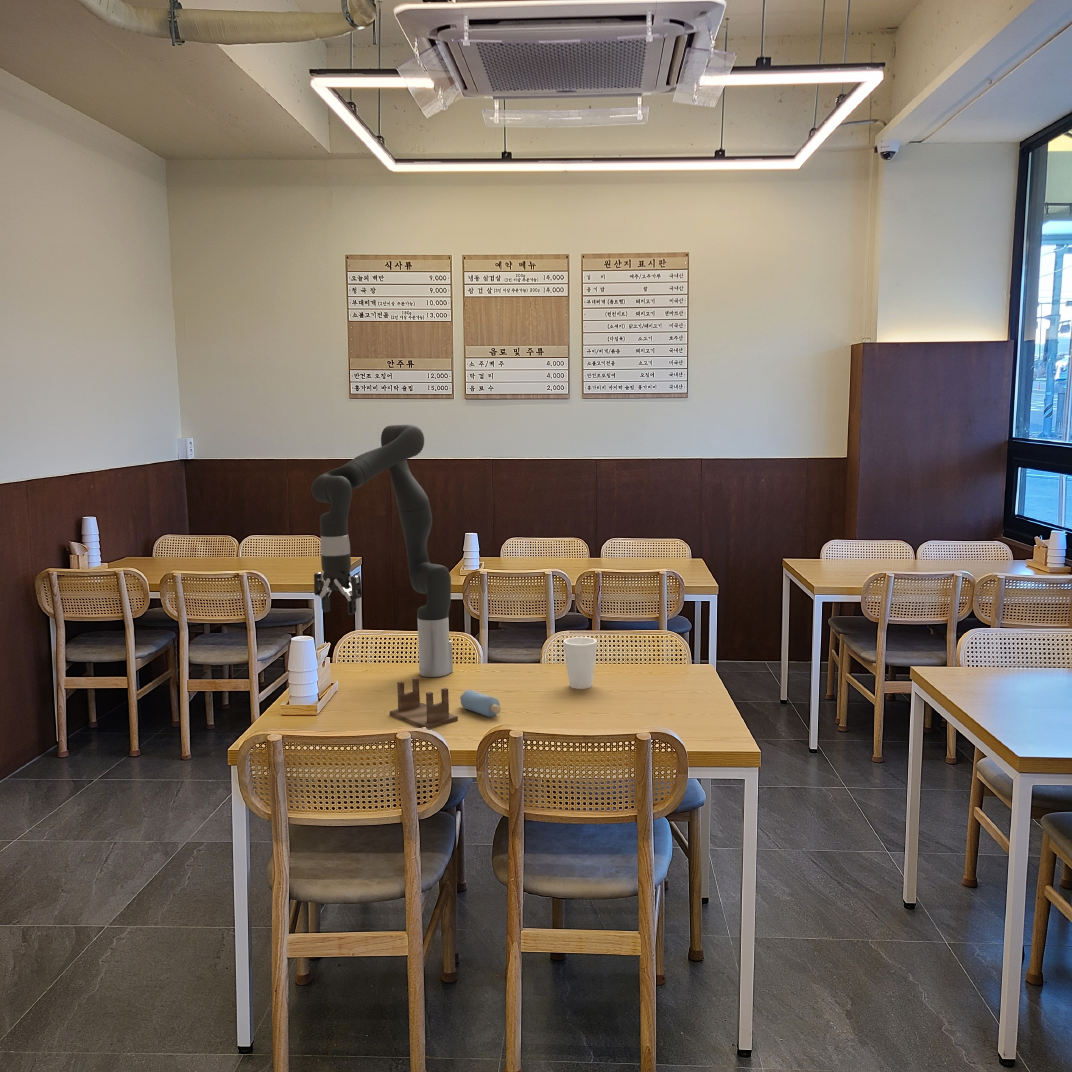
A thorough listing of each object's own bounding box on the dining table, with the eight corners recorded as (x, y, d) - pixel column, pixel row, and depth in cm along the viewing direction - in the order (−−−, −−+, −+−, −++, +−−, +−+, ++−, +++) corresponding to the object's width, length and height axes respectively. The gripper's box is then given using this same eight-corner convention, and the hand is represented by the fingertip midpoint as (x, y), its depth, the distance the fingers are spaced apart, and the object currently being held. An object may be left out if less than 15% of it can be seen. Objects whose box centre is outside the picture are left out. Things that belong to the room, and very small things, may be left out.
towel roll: (455, 708, 247) (455, 690, 246) (470, 704, 250) (470, 686, 250) (490, 721, 236) (490, 701, 236) (505, 717, 240) (505, 698, 239)
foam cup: (602, 683, 267) (601, 638, 265) (590, 692, 259) (589, 646, 257) (571, 679, 271) (571, 635, 269) (559, 688, 263) (558, 643, 261)
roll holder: (389, 714, 242) (388, 683, 241) (421, 706, 249) (420, 675, 248) (425, 729, 231) (424, 696, 229) (457, 720, 237) (456, 687, 236)
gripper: (366, 551, 243) (369, 612, 245) (324, 548, 249) (328, 607, 252) (347, 556, 236) (350, 618, 238) (304, 552, 243) (308, 613, 245)
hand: (339, 613), depth 245 cm, fingers open, 8 cm apart
